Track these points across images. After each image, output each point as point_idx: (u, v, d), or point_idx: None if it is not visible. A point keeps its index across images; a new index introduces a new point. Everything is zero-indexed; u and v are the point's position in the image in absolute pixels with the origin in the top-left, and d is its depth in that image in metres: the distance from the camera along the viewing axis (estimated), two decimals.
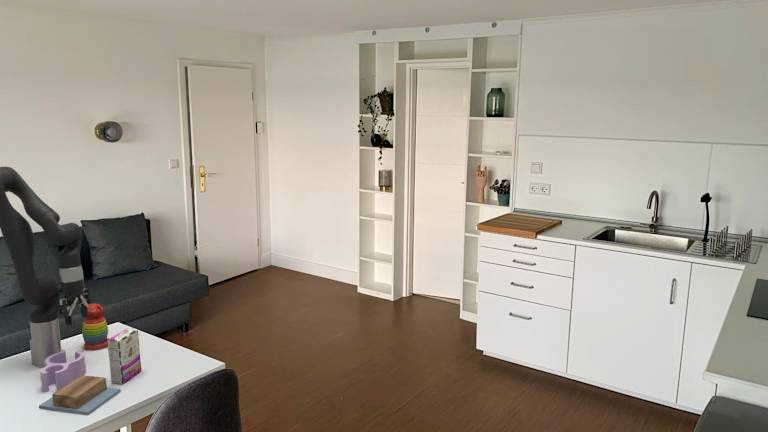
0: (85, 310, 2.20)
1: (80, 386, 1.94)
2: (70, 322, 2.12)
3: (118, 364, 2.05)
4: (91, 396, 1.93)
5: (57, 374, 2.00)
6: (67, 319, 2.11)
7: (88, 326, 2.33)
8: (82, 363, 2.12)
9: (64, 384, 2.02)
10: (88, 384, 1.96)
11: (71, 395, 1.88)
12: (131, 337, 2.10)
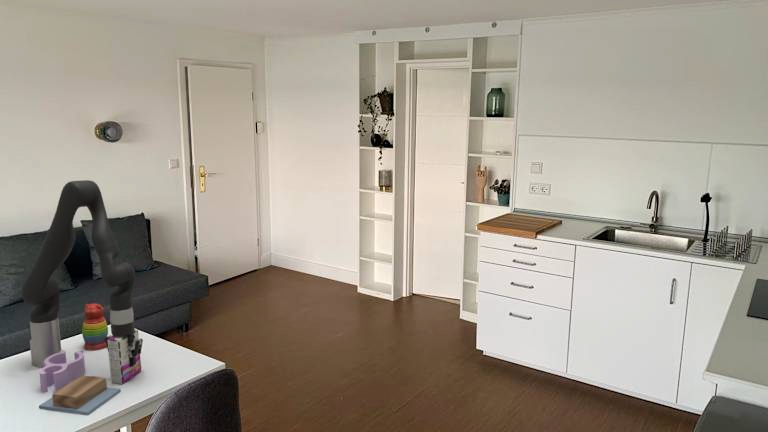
0: None
1: (80, 386, 1.94)
2: None
3: (118, 364, 2.05)
4: (91, 396, 1.93)
5: (55, 375, 1.99)
6: (135, 359, 2.10)
7: (88, 325, 2.33)
8: (81, 364, 2.11)
9: (62, 385, 2.02)
10: (88, 384, 1.96)
11: (71, 395, 1.88)
12: None
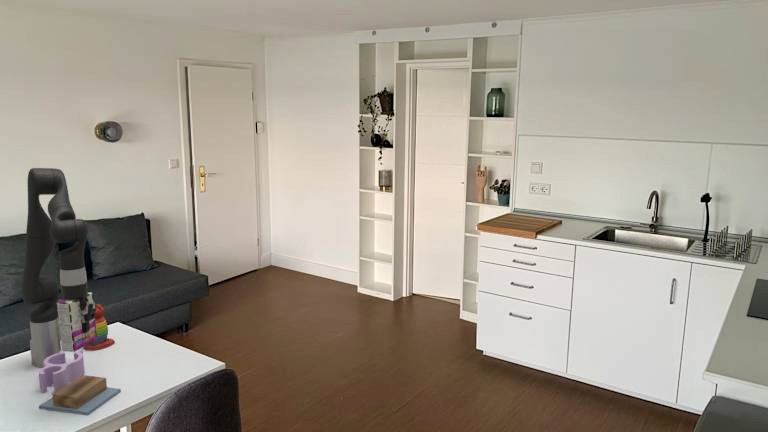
0: None
1: (80, 386, 1.94)
2: None
3: (68, 329, 1.86)
4: (91, 396, 1.93)
5: (55, 375, 1.99)
6: (88, 324, 1.91)
7: None
8: (81, 364, 2.11)
9: (62, 385, 2.01)
10: (88, 384, 1.96)
11: (71, 395, 1.88)
12: None
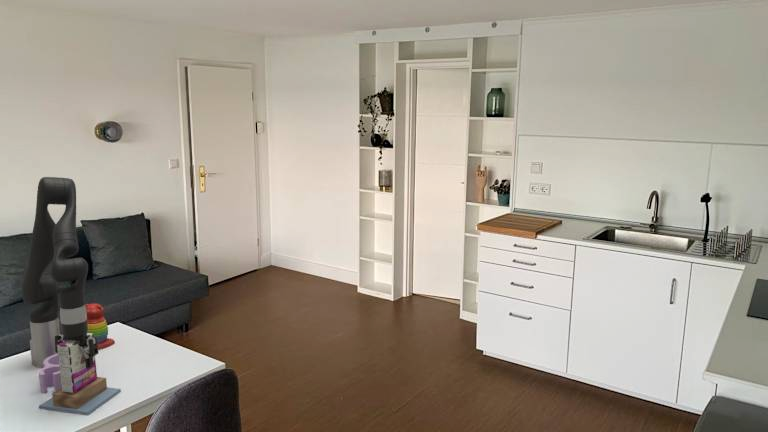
0: None
1: None
2: None
3: (68, 371, 1.88)
4: (91, 396, 1.93)
5: (55, 375, 1.99)
6: (92, 360, 1.92)
7: (88, 325, 2.33)
8: None
9: None
10: (88, 384, 1.96)
11: (71, 395, 1.88)
12: None
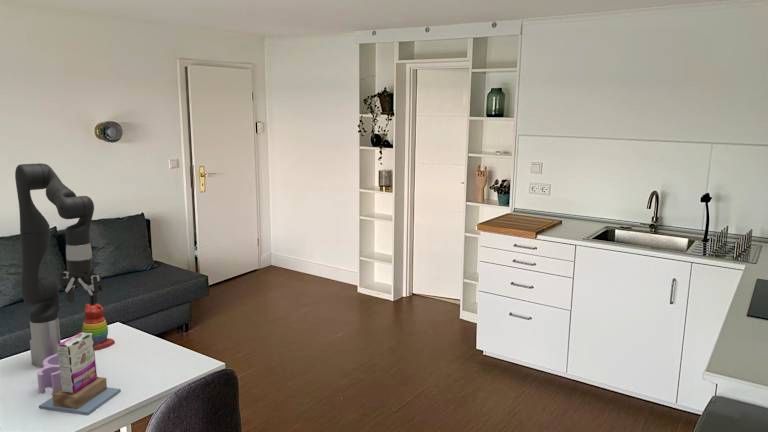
0: (73, 293, 1.99)
1: None
2: None
3: (68, 371, 1.88)
4: (91, 396, 1.93)
5: (53, 376, 1.99)
6: (96, 297, 1.96)
7: (88, 325, 2.33)
8: None
9: (60, 386, 2.01)
10: (88, 384, 1.96)
11: (71, 395, 1.88)
12: (84, 342, 1.92)
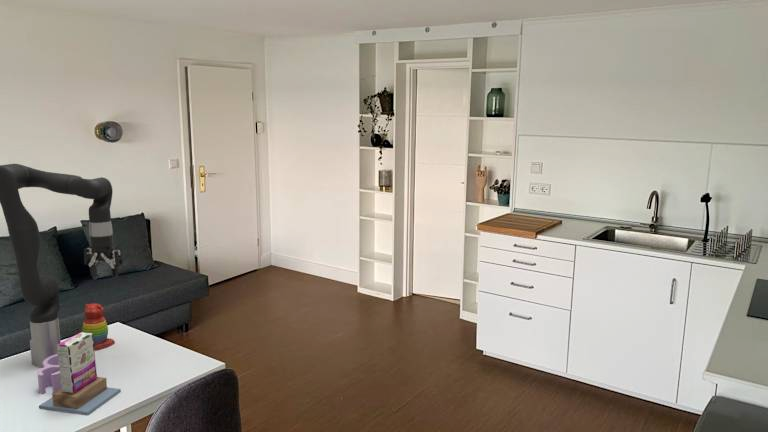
0: (95, 268, 2.17)
1: None
2: None
3: (68, 371, 1.88)
4: (91, 396, 1.93)
5: (53, 376, 1.98)
6: (117, 270, 2.14)
7: (88, 325, 2.33)
8: None
9: (60, 386, 2.01)
10: (88, 384, 1.96)
11: (71, 395, 1.88)
12: (84, 342, 1.92)
